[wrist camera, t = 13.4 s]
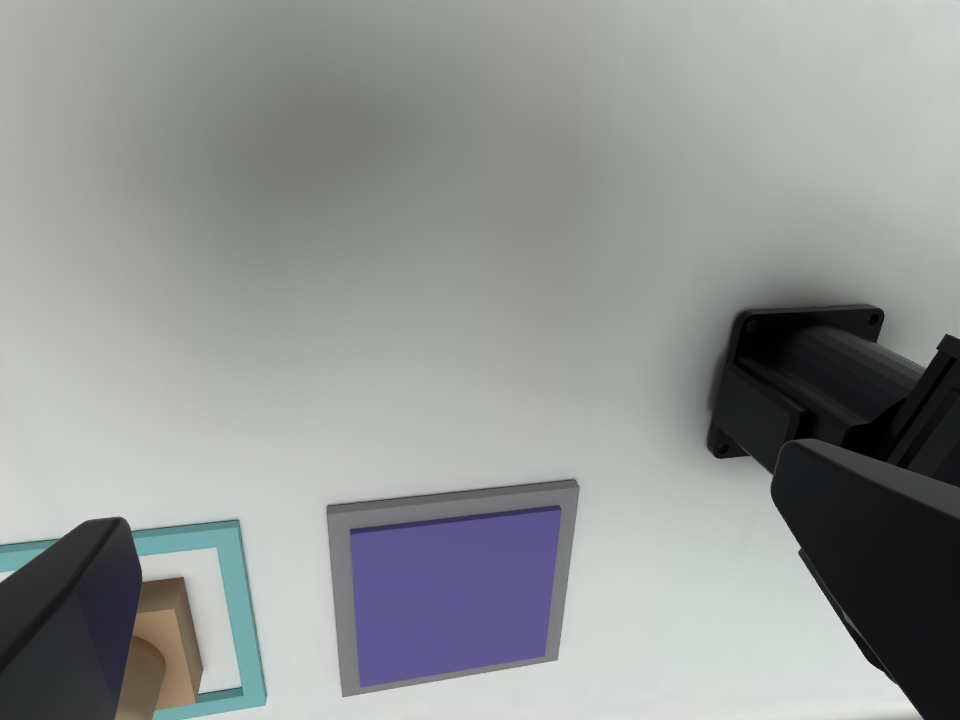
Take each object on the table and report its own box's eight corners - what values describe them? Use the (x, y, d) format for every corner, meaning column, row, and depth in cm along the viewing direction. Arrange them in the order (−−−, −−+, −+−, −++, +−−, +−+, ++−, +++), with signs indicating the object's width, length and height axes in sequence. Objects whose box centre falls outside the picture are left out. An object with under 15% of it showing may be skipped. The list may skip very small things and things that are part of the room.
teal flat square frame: (238, 520, 23) (237, 527, 22) (266, 696, 27) (265, 705, 26) (-65, 552, 21) (-72, 561, 20) (15, 738, 25) (10, 748, 24)
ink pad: (575, 479, 25) (582, 491, 25) (554, 651, 29) (559, 665, 29) (327, 506, 23) (326, 519, 22) (342, 687, 27) (342, 703, 27)
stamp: (183, 576, 23) (131, 758, 17) (203, 668, 25) (162, 861, 19) (34, 594, 22) (-80, 796, 16) (67, 689, 24) (-22, 901, 18)
